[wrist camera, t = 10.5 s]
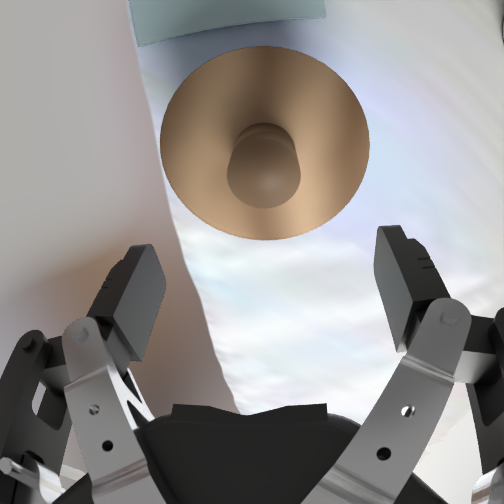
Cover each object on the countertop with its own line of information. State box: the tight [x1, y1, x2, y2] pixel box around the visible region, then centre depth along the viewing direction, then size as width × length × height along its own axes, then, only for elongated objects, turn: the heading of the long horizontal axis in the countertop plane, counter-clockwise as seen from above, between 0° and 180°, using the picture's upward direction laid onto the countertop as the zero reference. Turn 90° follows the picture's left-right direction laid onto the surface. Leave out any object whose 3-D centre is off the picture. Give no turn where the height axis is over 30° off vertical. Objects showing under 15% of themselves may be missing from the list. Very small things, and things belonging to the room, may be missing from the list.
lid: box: [160, 46, 370, 240], centre depth 19 cm, size 14×14×5 cm
